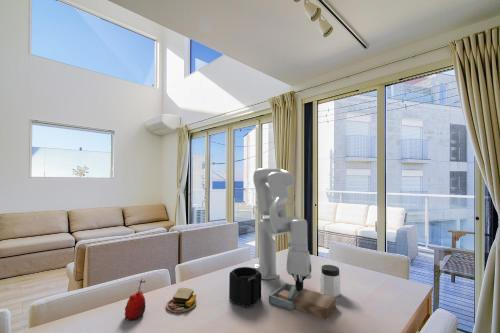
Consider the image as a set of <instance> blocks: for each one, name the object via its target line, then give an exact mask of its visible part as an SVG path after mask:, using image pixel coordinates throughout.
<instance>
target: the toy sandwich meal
mask: <svg viewBox="0 0 500 333" xmlns="http://www.w3.org/2000/svg"><path fill="white" fill-rule="evenodd" d="M194 292H195V291H194V289H193V288H189V287H179V288H178V289H177V291H176V292H175V293H174V294H173V295H172V299H170V300H168V301H167V302H166V305H165V308H166V309H167V310H169V312H171V313H176V314H178V313H180V314H181V313H187V312H189V311H191V310H193V308H194V307H195V306H196V304H197V300H196V299H197V294H196V293H195V294H194Z"/></svg>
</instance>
